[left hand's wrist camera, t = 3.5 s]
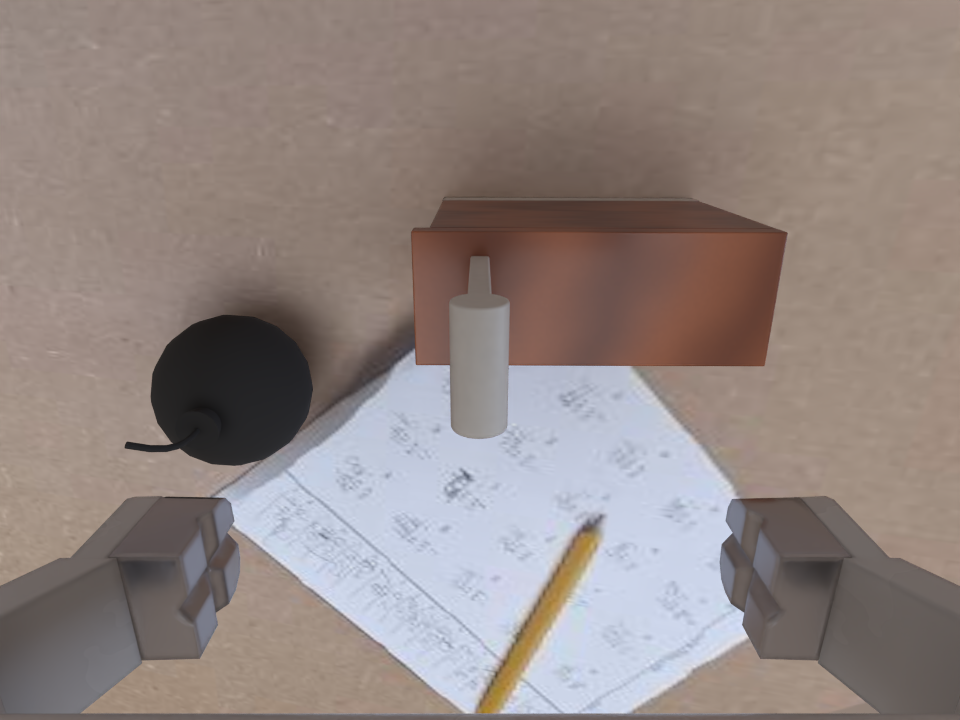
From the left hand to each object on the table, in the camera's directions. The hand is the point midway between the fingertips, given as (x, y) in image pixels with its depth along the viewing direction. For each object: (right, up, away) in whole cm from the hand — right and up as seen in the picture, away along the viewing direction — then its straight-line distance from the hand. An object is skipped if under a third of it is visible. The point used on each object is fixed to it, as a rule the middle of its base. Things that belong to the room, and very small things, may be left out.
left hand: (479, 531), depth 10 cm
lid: (+4, +5, +15) cm, 16 cm away
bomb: (-13, +3, +27) cm, 30 cm away
